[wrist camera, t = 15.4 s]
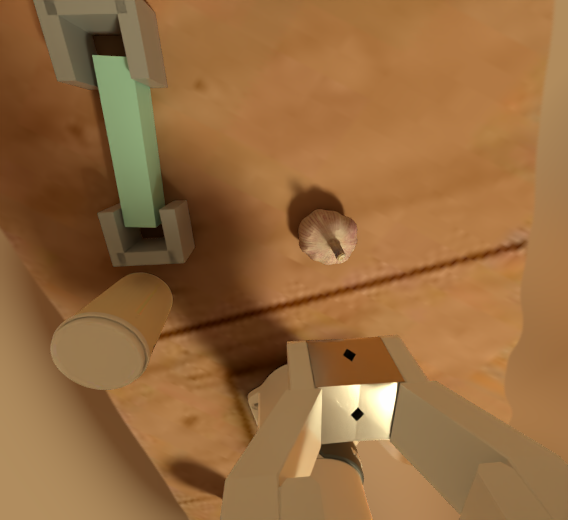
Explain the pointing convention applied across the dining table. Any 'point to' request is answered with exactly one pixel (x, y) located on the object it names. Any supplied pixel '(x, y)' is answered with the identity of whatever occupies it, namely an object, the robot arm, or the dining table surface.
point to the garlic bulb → (327, 236)
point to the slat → (131, 141)
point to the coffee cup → (113, 333)
